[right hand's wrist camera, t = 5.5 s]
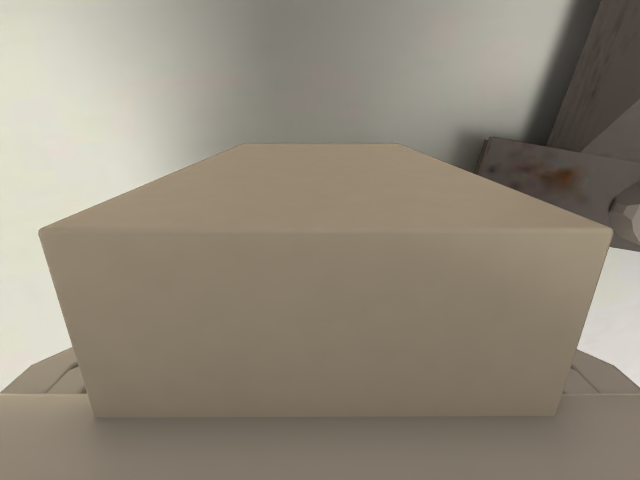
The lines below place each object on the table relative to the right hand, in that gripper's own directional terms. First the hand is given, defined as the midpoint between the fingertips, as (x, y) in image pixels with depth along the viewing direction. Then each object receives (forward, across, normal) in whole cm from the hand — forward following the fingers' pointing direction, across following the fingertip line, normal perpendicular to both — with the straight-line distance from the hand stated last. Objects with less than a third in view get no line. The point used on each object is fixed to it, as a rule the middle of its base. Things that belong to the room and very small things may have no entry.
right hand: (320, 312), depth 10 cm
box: (+5, 0, +9) cm, 10 cm away
